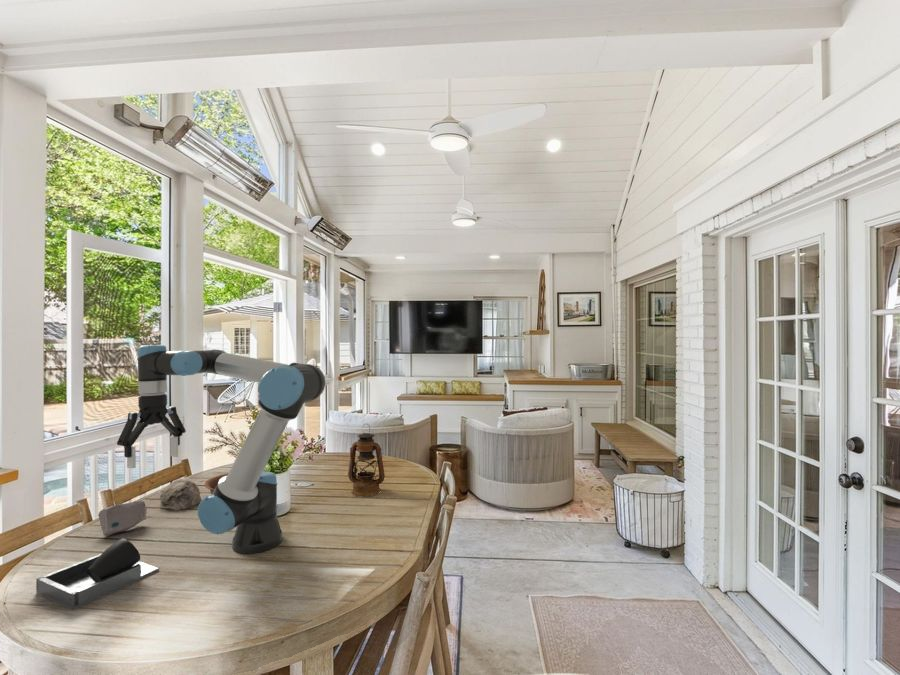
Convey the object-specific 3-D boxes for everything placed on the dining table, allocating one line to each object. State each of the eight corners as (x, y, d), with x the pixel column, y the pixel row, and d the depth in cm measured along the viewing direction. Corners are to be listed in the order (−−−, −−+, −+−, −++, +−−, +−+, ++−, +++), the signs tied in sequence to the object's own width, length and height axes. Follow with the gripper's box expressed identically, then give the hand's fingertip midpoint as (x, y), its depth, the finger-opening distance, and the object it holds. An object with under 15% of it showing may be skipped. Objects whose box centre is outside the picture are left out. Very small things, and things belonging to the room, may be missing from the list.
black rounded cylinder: (102, 598, 122) (136, 570, 130) (107, 582, 116) (142, 553, 124) (81, 577, 123) (116, 550, 131) (84, 560, 116) (121, 533, 124)
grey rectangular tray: (159, 571, 129) (159, 556, 129) (72, 611, 110) (72, 594, 110) (123, 559, 136) (123, 545, 136) (36, 594, 117) (36, 578, 117)
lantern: (389, 488, 201) (389, 421, 201) (379, 498, 189) (379, 426, 189) (353, 485, 204) (353, 420, 204) (341, 495, 192) (341, 425, 192)
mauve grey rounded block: (101, 538, 153) (103, 537, 149) (97, 510, 154) (99, 508, 150) (147, 523, 162) (150, 522, 158) (143, 497, 164) (146, 495, 160)
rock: (204, 498, 189) (204, 474, 189) (198, 508, 178) (199, 483, 178) (163, 502, 184) (163, 478, 184) (155, 513, 173) (155, 487, 173)
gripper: (181, 389, 154) (182, 451, 153) (101, 398, 130) (102, 471, 130) (197, 390, 151) (197, 453, 151) (118, 399, 128) (119, 474, 127)
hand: (153, 461), depth 140 cm, fingers open, 13 cm apart
